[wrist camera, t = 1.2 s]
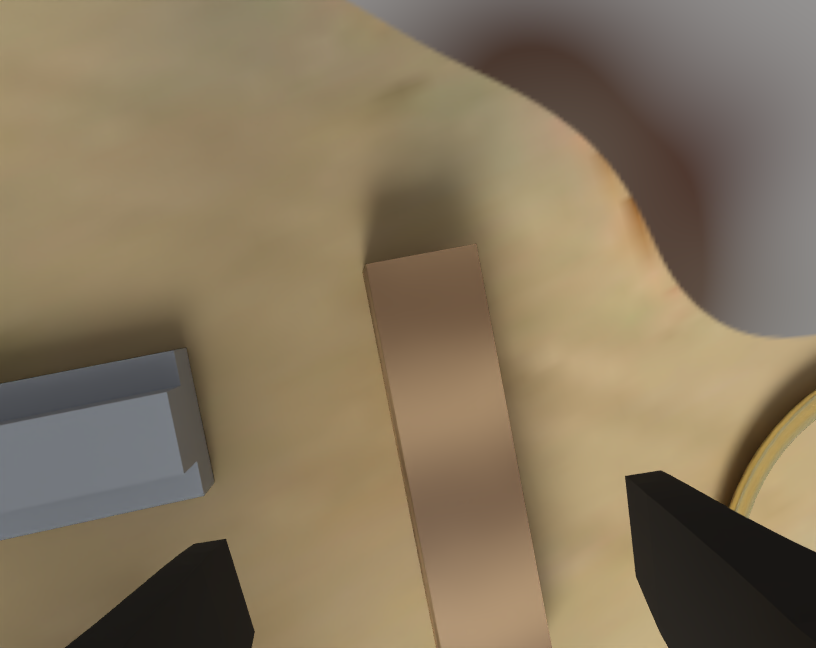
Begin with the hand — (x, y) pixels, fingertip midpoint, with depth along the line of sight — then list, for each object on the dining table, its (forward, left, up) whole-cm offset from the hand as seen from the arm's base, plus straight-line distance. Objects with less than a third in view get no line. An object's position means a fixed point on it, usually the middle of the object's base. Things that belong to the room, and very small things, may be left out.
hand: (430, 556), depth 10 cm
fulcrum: (+2, +11, -11) cm, 16 cm away
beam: (-2, -2, -12) cm, 12 cm away
